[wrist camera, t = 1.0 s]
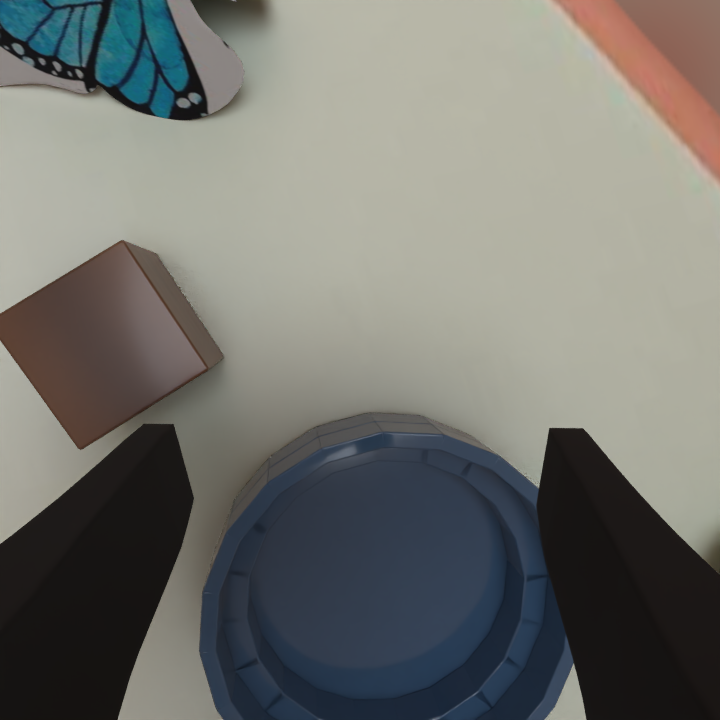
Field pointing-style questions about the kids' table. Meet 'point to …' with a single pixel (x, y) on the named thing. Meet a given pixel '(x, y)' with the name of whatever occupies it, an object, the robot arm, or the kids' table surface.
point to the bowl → (383, 583)
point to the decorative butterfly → (121, 53)
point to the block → (107, 341)
